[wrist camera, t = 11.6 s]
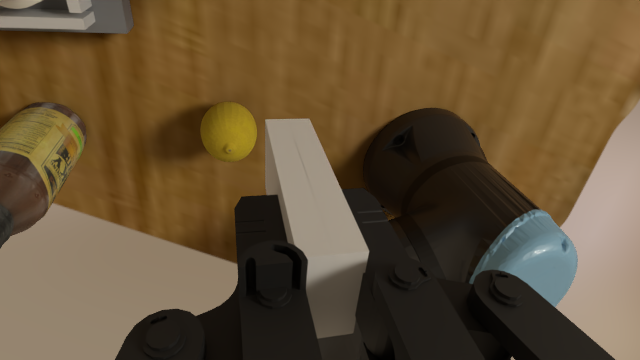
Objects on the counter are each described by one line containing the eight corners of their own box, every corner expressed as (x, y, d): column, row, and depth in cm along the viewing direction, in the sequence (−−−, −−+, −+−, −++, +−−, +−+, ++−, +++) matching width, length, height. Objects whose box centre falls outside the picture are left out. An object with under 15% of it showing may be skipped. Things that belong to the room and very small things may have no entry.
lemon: (191, 105, 41) (185, 141, 34) (237, 81, 41) (240, 112, 34) (219, 145, 44) (220, 184, 38) (263, 123, 44) (270, 159, 37)
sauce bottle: (77, 163, 42) (-11, 318, 26) (9, 137, 39) (-139, 294, 23) (100, 116, 40) (19, 252, 23) (30, 84, 37) (-118, 216, 20)
